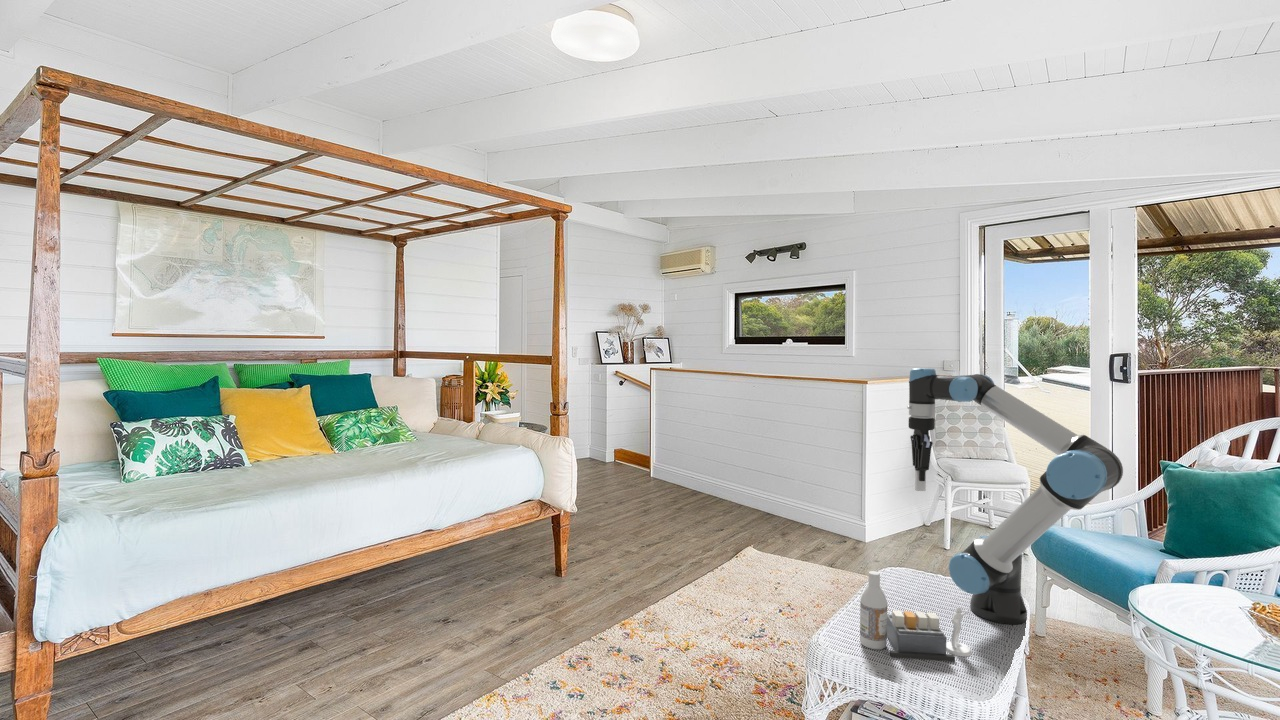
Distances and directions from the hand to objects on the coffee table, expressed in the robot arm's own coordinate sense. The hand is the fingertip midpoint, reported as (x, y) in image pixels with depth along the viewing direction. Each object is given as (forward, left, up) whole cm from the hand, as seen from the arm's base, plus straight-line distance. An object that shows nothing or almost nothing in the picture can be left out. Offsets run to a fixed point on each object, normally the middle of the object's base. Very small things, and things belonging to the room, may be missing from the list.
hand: (920, 490), depth 194 cm
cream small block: (+14, +29, -30) cm, 45 cm away
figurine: (-1, +29, -37) cm, 47 cm away
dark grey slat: (+10, +35, -36) cm, 52 cm away
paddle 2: (+11, +29, -30) cm, 44 cm away
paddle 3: (+8, +29, -30) cm, 43 cm away
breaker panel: (+10, +29, -36) cm, 48 cm away
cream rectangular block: (+5, +29, -30) cm, 43 cm away
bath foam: (+21, +29, -37) cm, 51 cm away
